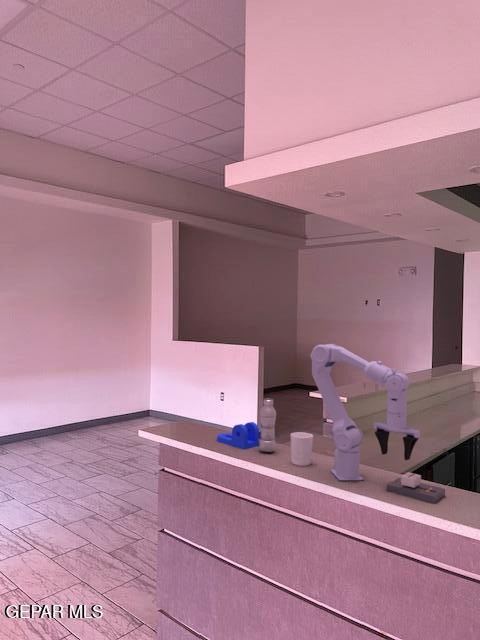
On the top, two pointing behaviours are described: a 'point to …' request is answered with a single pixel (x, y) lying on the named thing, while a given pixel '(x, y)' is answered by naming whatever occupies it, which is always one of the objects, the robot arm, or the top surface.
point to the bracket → (241, 436)
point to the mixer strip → (417, 491)
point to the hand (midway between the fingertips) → (395, 456)
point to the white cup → (301, 448)
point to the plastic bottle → (267, 427)
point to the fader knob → (411, 479)
